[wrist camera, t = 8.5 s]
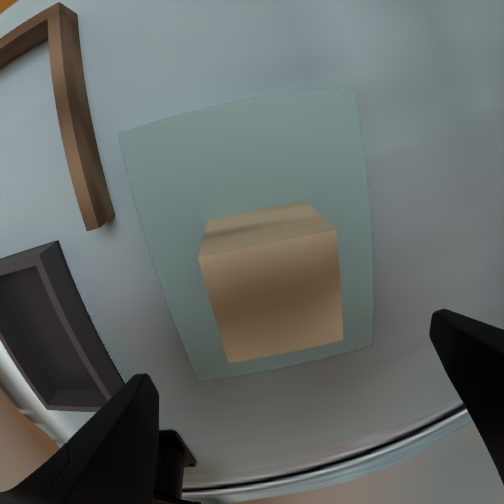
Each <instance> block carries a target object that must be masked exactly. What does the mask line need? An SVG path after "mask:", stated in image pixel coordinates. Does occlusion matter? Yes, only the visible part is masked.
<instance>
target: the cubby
mask: <svg viewBox="0 0 504 504" xmlns="http://www.w3.org/2000/svg"><path fill="white" fill-rule="evenodd" d="M47 39H49V52H50V63H51V73H52V81H53V89H54V96H55V102H56V108H57V114H58V120H59V125H60V131H61V136H62V140H63V145H64V150H65V154H66V159H67V163H68V167H69V171H70V175H71V179H72V183H73V186H74V190H75V194H76V197H77V201H78V204H79V208H80V211H81V214H82V217H83V221H84V224H85V227H86V230H87V231H90V230H93V229H97V228H100V227H101V226H102V225H103V224H105V223H106V222H107V221H109V220H110V219H111V218H113V217H114V216H115V214H114V210H113V207H112V203H111V200H110V196H109V193H108V189H107V185H106V181H105V178H104V174H103V170H102V166H101V162H100V157H99V153H98V149H97V144H96V140H95V135H94V131H93V126H92V121H91V116H90V110H89V105H88V99H87V93H86V87H85V81H84V74H83V67H82V60H81V51H80V42H79V32H78V20H77V14H76V13H75V12H73V11H72V10H70V9H69V8H67V7H66V6H64V5H63V4H61V3H59V2H58V3H56V4H54V5H53V6H51V7H49V8H47V9H45V10H44V11H42V12H40V13H39V14H37V15H35V16H34V17H32V18H30V19H29V20H27V21H26V22H24V23H22V24H21V25H19V26H18V27H16V28H15V29H13V30H12V31H10V32H9V33H8V34H6V35H5V36H3V37H2V38H1V39H0V69H1V68H2V67H3V66H5V65H6V64H8V63H9V62H11V61H12V60H14V59H15V58H17V57H18V56H20V55H22V54H23V53H25V52H26V51H28V50H30V49H31V48H33V47H35V46H36V45H38V44H40V43H42V42H43V41H45V40H47Z"/></svg>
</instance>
